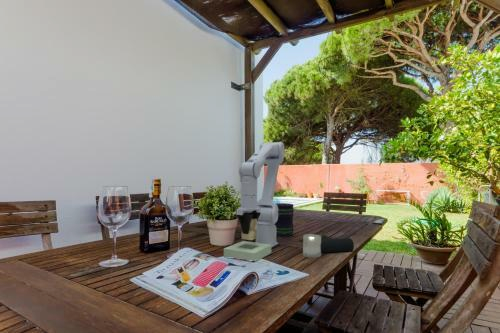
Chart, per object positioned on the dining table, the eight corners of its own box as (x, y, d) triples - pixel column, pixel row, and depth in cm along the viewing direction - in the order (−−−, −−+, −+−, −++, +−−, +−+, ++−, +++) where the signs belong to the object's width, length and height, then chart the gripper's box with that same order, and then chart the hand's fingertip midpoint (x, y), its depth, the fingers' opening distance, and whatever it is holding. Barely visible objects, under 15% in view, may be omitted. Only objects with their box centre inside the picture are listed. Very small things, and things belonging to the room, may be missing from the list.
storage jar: (270, 236, 141) (270, 204, 141) (275, 232, 150) (275, 202, 151) (291, 238, 138) (291, 205, 138) (295, 234, 147) (295, 203, 147)
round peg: (305, 252, 114) (306, 233, 114) (322, 254, 111) (322, 235, 111) (300, 256, 108) (301, 236, 109) (318, 258, 106) (318, 238, 106)
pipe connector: (304, 234, 122) (336, 232, 127) (304, 247, 122) (336, 245, 127) (319, 241, 111) (354, 239, 116) (319, 255, 111) (353, 253, 116)
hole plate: (243, 248, 118) (243, 240, 118) (271, 252, 112) (271, 244, 112) (223, 257, 105) (223, 248, 105) (254, 262, 100) (254, 253, 100)
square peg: (246, 236, 111) (247, 217, 111) (256, 238, 109) (256, 218, 110) (241, 238, 108) (241, 219, 108) (251, 240, 106) (251, 220, 106)
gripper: (249, 196, 101) (248, 237, 100) (267, 194, 114) (267, 230, 113) (231, 195, 104) (230, 235, 104) (251, 193, 117) (250, 228, 117)
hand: (248, 232), depth 109 cm, fingers closed on square peg, 4 cm apart
